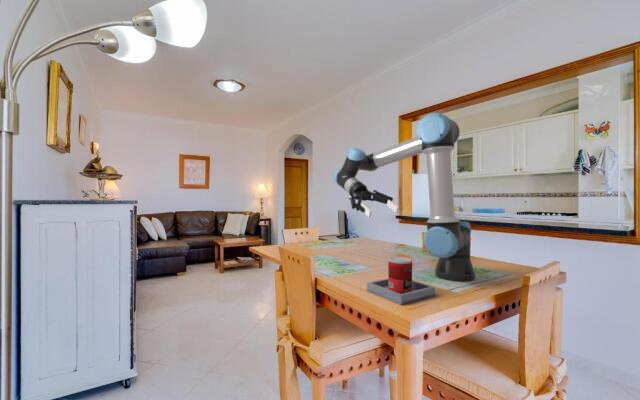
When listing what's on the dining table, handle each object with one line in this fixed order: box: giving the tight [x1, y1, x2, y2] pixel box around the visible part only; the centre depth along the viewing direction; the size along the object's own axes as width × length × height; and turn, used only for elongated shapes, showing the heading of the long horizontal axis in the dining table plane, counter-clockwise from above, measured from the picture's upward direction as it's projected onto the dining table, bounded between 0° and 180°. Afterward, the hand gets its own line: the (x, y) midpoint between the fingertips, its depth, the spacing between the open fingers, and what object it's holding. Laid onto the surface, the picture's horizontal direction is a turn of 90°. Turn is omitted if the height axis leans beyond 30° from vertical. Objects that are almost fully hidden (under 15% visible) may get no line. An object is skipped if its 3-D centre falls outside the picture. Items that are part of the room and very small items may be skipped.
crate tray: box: [366, 278, 436, 306], centre depth 105 cm, size 16×16×3 cm
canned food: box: [387, 256, 413, 294], centre depth 105 cm, size 8×8×11 cm
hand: (384, 212), depth 121 cm, fingers open, 13 cm apart
